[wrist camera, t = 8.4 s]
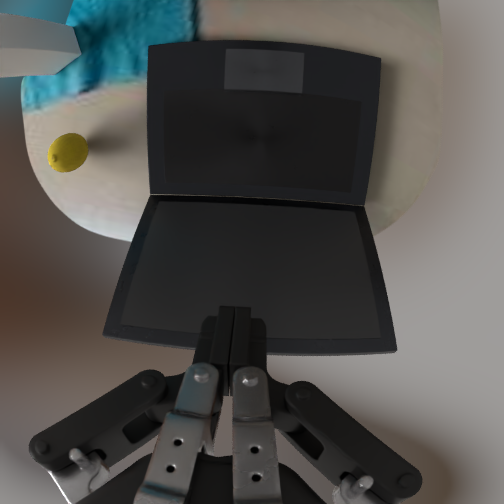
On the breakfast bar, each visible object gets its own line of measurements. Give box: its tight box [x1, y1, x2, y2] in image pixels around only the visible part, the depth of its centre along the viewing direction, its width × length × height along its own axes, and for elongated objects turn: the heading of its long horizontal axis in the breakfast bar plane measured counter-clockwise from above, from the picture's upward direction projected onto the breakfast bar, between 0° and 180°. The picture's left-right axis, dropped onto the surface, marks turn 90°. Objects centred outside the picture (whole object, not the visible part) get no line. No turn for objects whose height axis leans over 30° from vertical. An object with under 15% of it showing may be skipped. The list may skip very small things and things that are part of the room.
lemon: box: [48, 133, 88, 172], centre depth 35 cm, size 6×6×8 cm
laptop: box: [147, 40, 381, 205], centre depth 36 cm, size 21×30×2 cm
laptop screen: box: [103, 195, 397, 356], centre depth 34 cm, size 21×30×1 cm
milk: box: [0, 13, 81, 77], centre depth 21 cm, size 6×6×22 cm
